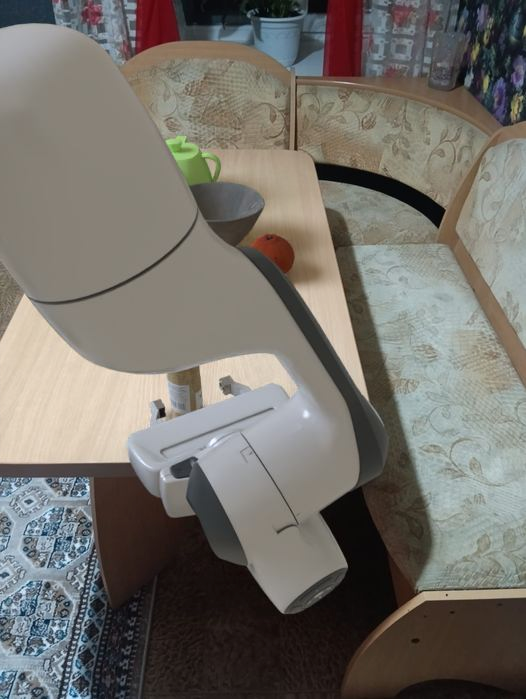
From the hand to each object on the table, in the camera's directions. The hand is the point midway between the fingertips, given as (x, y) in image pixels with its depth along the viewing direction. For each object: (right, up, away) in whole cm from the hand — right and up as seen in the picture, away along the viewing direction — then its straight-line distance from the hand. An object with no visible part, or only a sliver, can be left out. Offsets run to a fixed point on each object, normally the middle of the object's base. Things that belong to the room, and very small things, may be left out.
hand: (190, 392), depth 69 cm
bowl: (0, +27, +44) cm, 52 cm away
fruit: (+11, +20, +36) cm, 43 cm away
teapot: (-12, +40, +60) cm, 74 cm away
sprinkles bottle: (-1, -4, +6) cm, 8 cm away
